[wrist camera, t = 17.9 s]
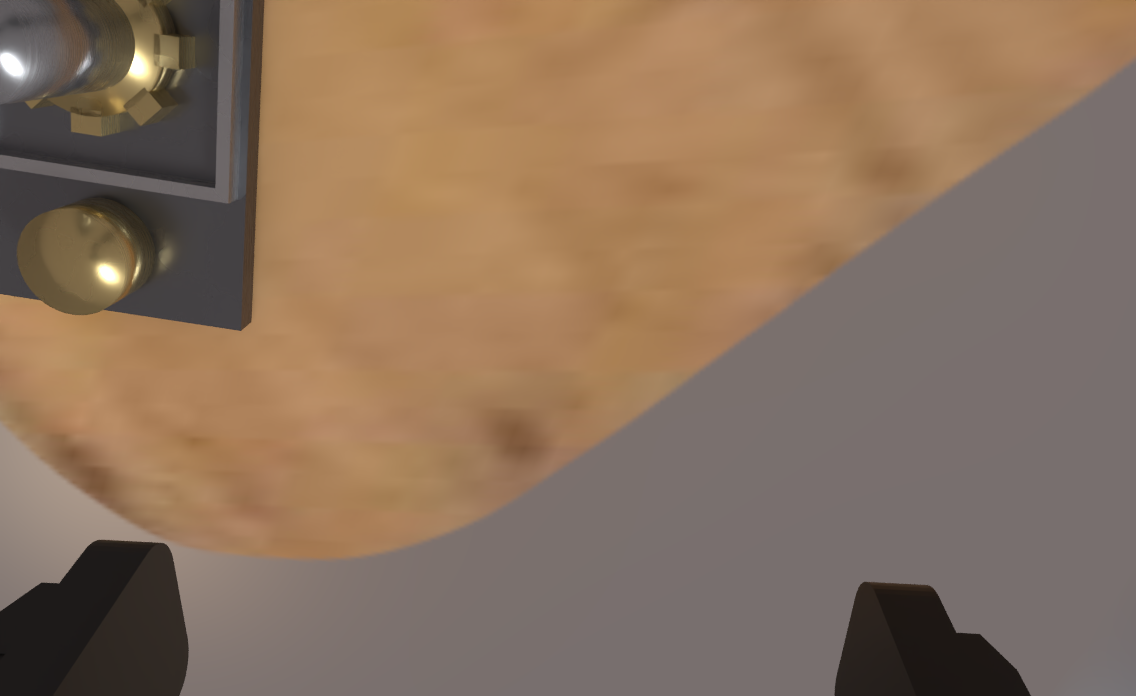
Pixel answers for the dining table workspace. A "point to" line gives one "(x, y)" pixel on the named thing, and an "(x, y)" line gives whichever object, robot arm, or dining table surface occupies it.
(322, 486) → the dining table surface
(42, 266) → the tray
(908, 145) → the dining table surface
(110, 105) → the gear
